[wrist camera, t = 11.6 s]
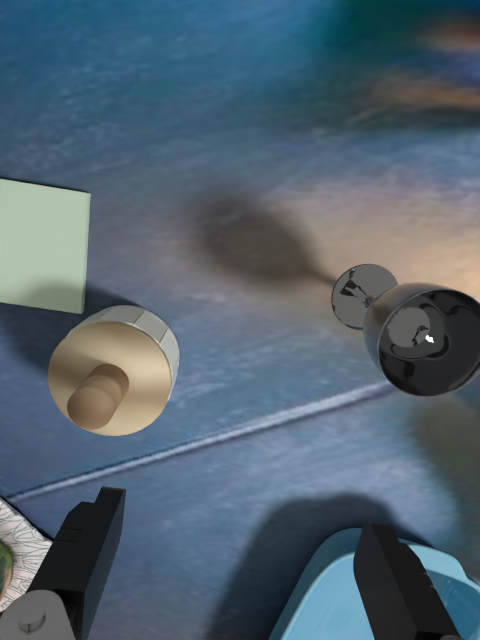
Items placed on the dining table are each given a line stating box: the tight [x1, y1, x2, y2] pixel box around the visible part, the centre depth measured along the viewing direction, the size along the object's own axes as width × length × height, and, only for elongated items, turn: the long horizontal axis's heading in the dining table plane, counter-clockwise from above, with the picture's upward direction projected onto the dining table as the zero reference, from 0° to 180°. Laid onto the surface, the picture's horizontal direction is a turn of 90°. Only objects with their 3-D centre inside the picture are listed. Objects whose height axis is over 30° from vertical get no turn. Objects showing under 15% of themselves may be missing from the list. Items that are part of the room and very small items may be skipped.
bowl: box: [66, 305, 180, 401], centre depth 40 cm, size 11×11×6 cm
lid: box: [48, 321, 172, 436], centre depth 34 cm, size 11×11×6 cm
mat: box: [0, 179, 90, 314], centre depth 39 cm, size 12×12×1 cm
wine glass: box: [332, 264, 480, 398], centre depth 35 cm, size 8×8×15 cm
